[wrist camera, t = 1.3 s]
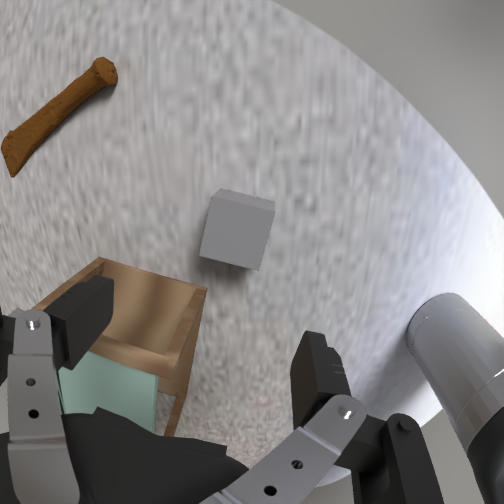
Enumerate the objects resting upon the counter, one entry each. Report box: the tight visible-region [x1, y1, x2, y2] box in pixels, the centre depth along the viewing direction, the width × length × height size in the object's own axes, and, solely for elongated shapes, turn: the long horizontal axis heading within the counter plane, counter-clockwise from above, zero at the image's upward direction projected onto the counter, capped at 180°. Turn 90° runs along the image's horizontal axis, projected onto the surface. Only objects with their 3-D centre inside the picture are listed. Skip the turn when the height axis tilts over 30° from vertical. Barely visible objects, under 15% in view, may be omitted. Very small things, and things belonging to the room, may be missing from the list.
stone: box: [199, 188, 275, 271], centre depth 26 cm, size 5×5×5 cm
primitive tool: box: [1, 57, 118, 177], centre depth 25 cm, size 19×6×4 cm, turn 115°
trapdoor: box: [8, 308, 159, 434], centre depth 22 cm, size 15×14×3 cm
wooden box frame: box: [31, 257, 207, 437], centre depth 27 cm, size 13×17×13 cm
